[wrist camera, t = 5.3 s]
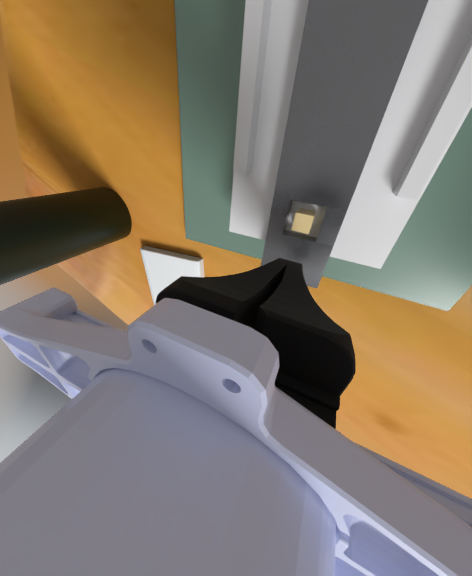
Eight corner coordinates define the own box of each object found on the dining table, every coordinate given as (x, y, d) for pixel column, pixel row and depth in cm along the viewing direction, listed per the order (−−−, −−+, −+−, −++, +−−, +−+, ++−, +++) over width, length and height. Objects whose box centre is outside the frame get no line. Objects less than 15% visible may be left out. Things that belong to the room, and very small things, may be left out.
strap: (357, -230, 6) (358, -279, 5) (540, -297, 5) (572, -371, 4) (263, 266, 16) (259, 271, 15) (318, 282, 14) (316, 288, 14)
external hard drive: (206, 256, 23) (210, 336, 30) (148, 244, 26) (164, 320, 33) (198, 262, 22) (205, 344, 29) (138, 248, 25) (157, 326, 31)
